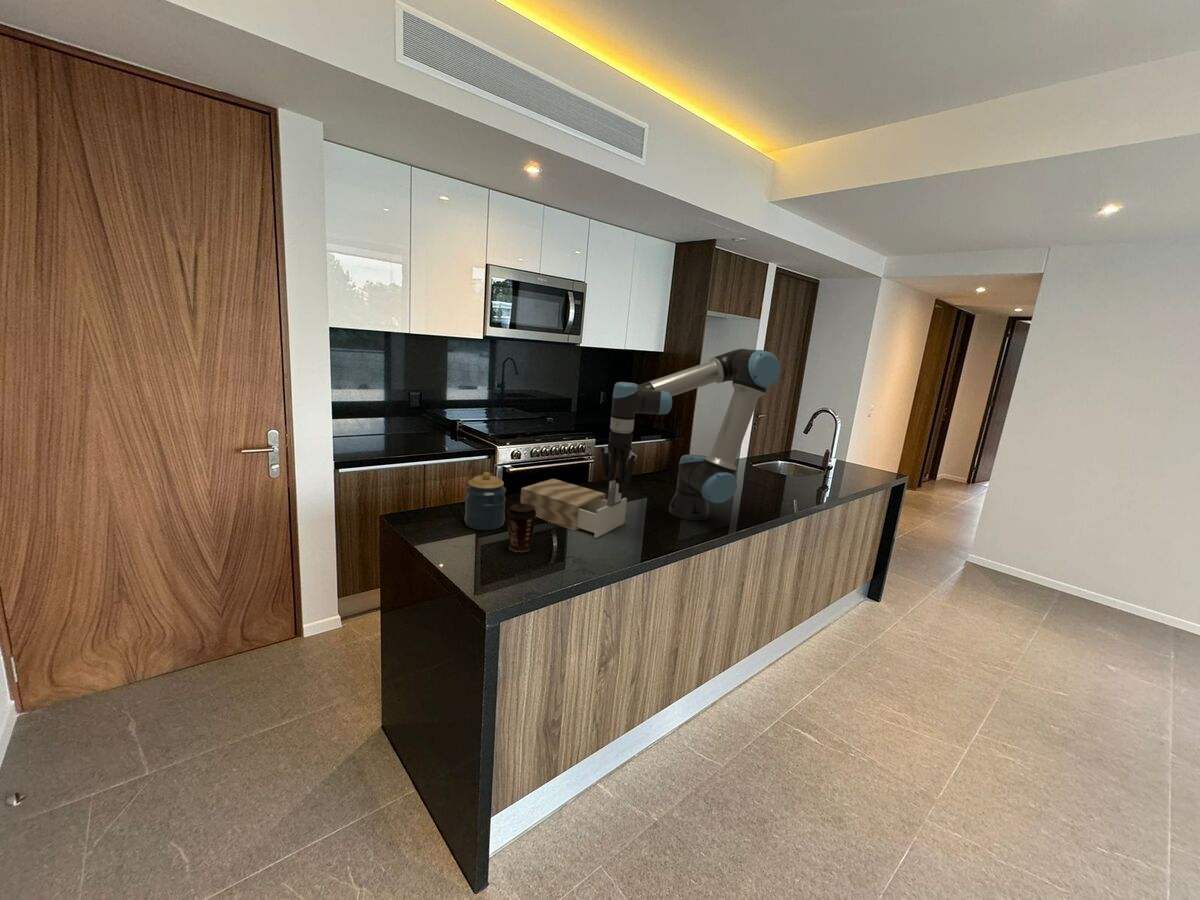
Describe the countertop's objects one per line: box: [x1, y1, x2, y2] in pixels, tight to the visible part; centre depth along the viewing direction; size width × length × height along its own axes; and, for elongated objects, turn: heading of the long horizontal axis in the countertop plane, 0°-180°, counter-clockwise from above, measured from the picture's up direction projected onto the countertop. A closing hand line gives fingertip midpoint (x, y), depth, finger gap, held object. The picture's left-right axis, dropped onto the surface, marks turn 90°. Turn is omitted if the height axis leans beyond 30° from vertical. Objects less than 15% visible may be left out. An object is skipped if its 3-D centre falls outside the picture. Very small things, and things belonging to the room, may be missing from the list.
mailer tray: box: [576, 486, 628, 539], centre depth 172 cm, size 25×18×15 cm
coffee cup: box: [506, 502, 537, 553], centre depth 148 cm, size 9×8×13 cm
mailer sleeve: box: [519, 478, 607, 532], centre depth 178 cm, size 24×18×9 cm
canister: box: [464, 471, 507, 531], centre depth 163 cm, size 13×13×18 cm
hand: (614, 500), depth 166 cm, fingers closed on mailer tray, 2 cm apart
